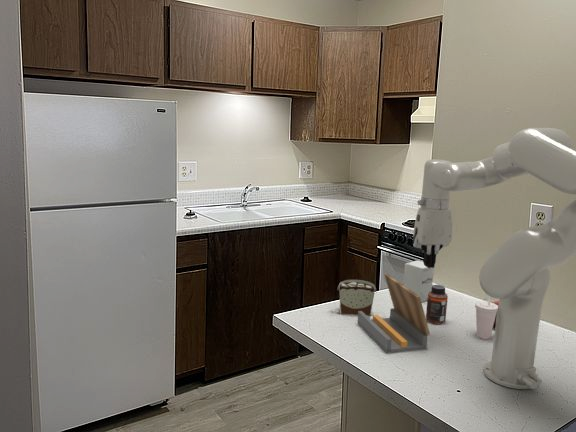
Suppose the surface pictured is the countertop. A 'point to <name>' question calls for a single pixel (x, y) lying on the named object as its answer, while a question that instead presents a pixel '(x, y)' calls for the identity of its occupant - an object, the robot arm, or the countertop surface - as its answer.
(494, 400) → the countertop surface
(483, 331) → the smoothie
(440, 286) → the supplement bottle
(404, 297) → the lid
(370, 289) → the food container
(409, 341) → the bar
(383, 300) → the countertop surface
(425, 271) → the supplement box
